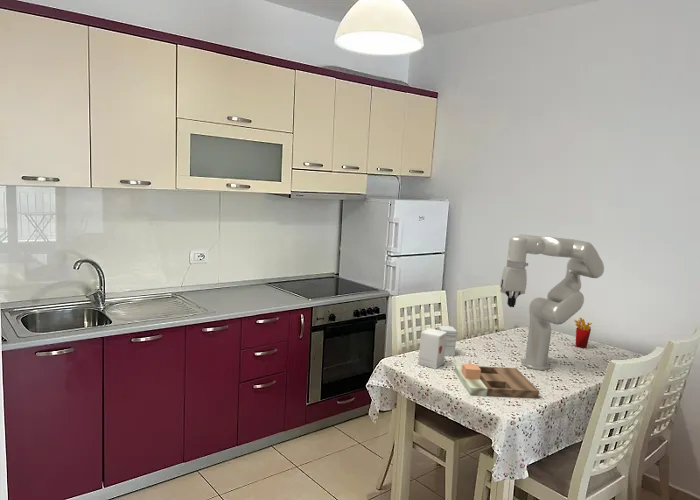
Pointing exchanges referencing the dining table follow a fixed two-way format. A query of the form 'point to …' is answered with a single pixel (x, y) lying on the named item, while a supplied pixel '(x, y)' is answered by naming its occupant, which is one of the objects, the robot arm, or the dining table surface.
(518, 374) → the board
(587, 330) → the french fries
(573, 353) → the dining table surface
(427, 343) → the supplement box
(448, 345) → the supplement box
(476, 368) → the terracotta block
